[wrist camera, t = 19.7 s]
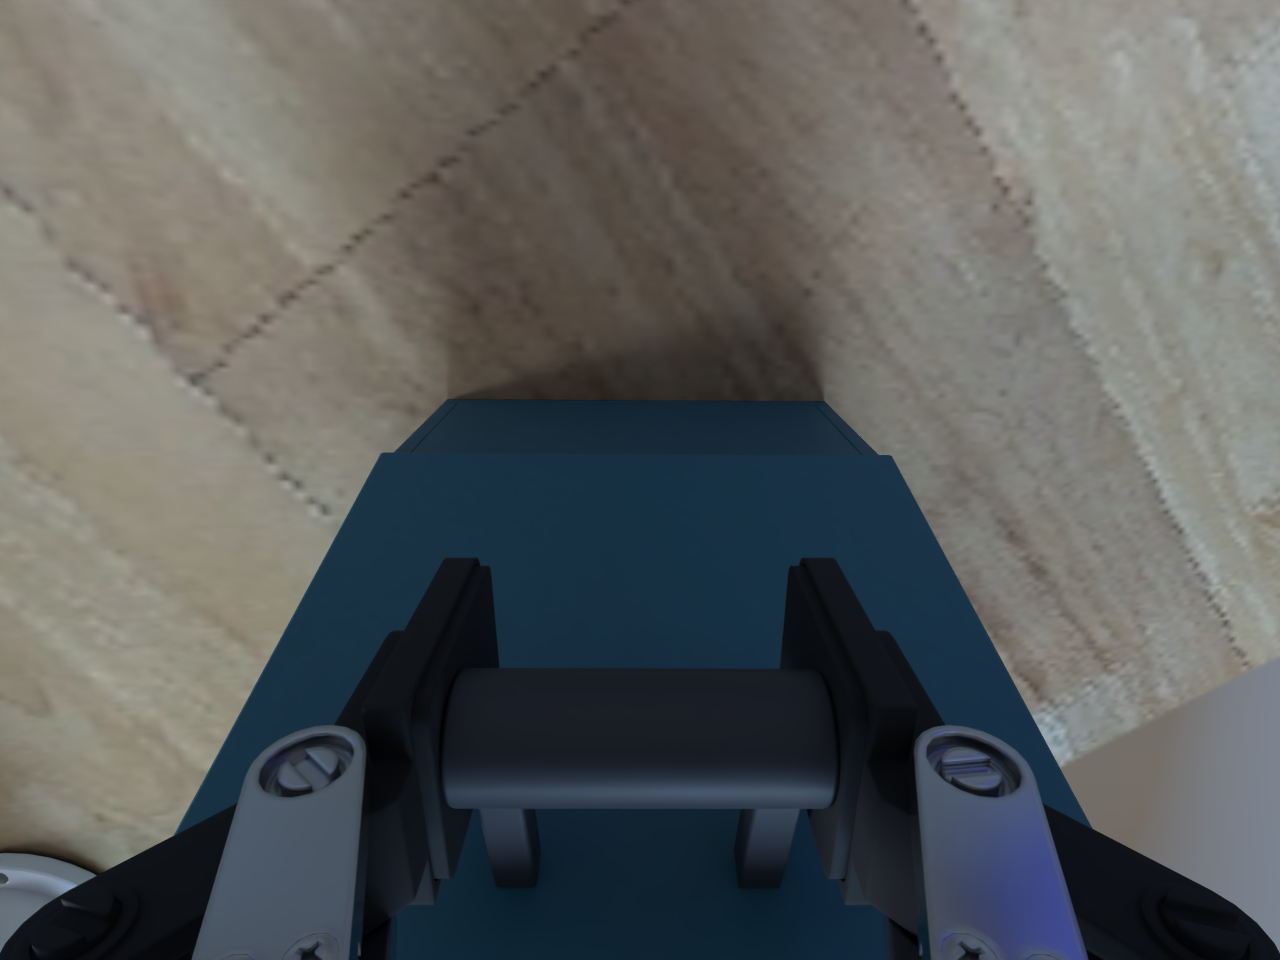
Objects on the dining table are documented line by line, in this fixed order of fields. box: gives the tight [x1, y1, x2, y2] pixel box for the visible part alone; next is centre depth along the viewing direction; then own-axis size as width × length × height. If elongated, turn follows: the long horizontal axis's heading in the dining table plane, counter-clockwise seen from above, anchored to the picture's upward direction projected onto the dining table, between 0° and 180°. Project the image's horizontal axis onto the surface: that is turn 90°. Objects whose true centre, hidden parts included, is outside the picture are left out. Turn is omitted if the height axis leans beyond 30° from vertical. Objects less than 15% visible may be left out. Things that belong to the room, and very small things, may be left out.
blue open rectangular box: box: [394, 399, 878, 455], centre depth 29 cm, size 14×16×8 cm
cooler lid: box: [174, 453, 1092, 960], centre depth 15 cm, size 15×16×5 cm
